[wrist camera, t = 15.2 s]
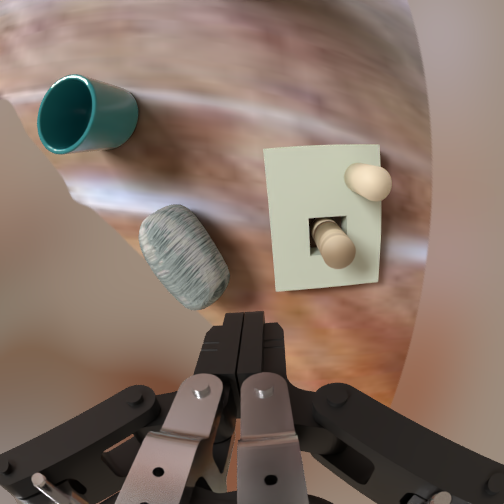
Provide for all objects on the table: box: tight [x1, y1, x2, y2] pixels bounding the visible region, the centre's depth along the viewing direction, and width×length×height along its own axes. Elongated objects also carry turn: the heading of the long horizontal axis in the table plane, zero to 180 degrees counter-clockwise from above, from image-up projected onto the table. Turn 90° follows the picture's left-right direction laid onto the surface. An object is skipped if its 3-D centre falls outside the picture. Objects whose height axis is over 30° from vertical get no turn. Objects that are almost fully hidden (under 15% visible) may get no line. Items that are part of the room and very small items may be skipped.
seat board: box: [263, 144, 392, 292], centre depth 33 cm, size 18×14×9 cm
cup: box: [37, 74, 138, 154], centre depth 28 cm, size 9×12×11 cm
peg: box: [310, 217, 356, 269], centre depth 33 cm, size 4×4×9 cm
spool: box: [139, 205, 230, 310], centre depth 36 cm, size 14×10×10 cm
